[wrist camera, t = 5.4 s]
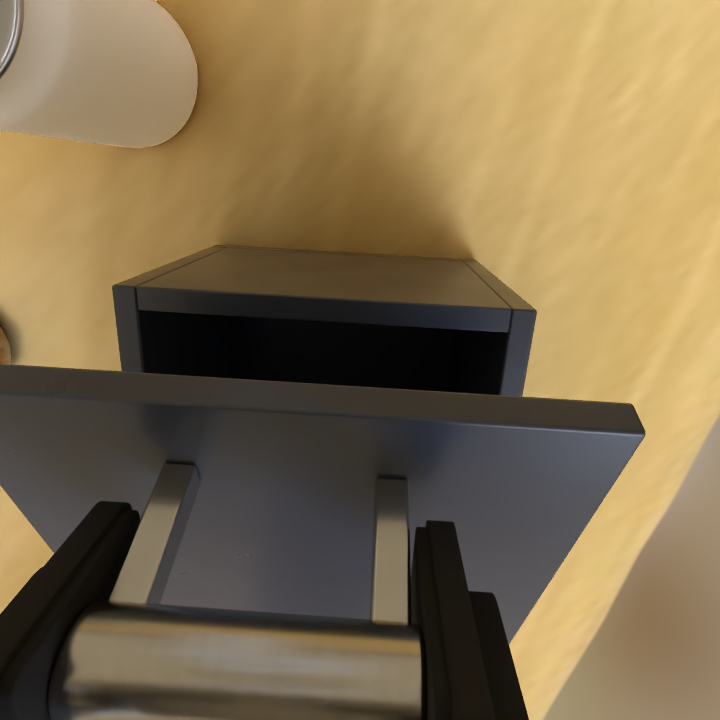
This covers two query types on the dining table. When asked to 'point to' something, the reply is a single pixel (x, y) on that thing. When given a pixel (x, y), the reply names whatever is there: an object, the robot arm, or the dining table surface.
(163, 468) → the bin lid
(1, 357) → the pastry
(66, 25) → the can
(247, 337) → the bin
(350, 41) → the dining table surface
